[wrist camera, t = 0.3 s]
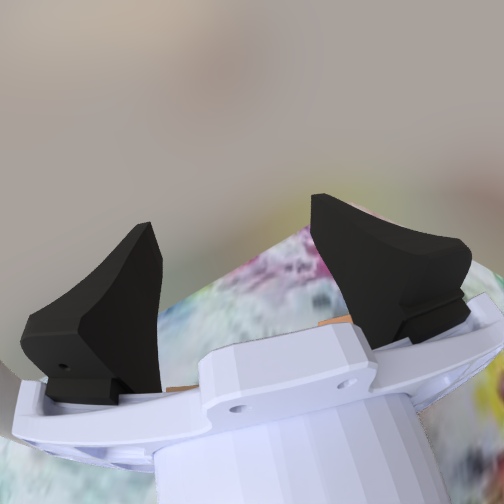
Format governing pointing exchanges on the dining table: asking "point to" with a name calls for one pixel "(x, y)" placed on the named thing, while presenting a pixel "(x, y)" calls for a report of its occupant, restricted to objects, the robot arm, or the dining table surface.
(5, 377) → the coffee cup
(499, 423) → the dining table surface
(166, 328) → the dining table surface
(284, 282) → the dining table surface
